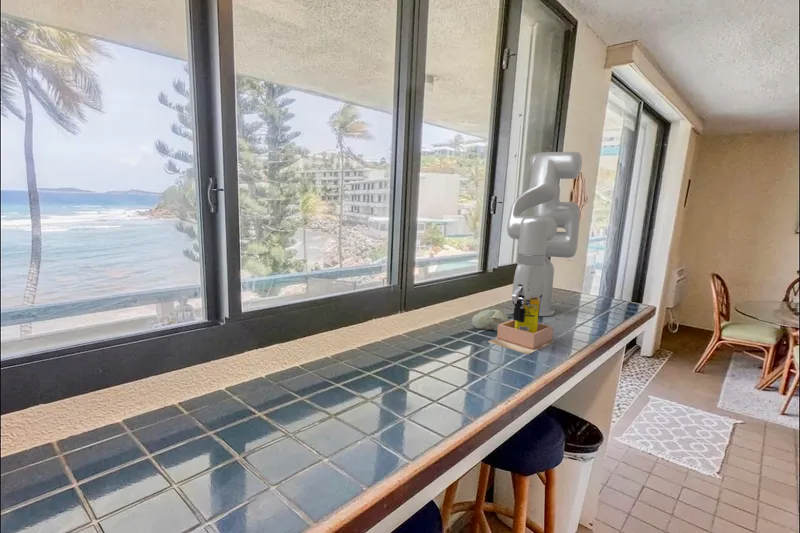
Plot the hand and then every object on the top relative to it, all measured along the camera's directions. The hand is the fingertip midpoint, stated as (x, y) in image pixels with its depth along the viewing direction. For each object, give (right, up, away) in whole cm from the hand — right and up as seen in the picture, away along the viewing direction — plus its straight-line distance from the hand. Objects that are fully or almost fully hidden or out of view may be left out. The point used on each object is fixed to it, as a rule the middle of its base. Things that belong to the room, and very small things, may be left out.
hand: (526, 318), depth 120 cm
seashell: (-8, -6, +12) cm, 16 cm away
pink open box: (0, -7, +1) cm, 7 cm away
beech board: (-2, -8, 0) cm, 8 cm away
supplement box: (0, -5, +1) cm, 5 cm away
